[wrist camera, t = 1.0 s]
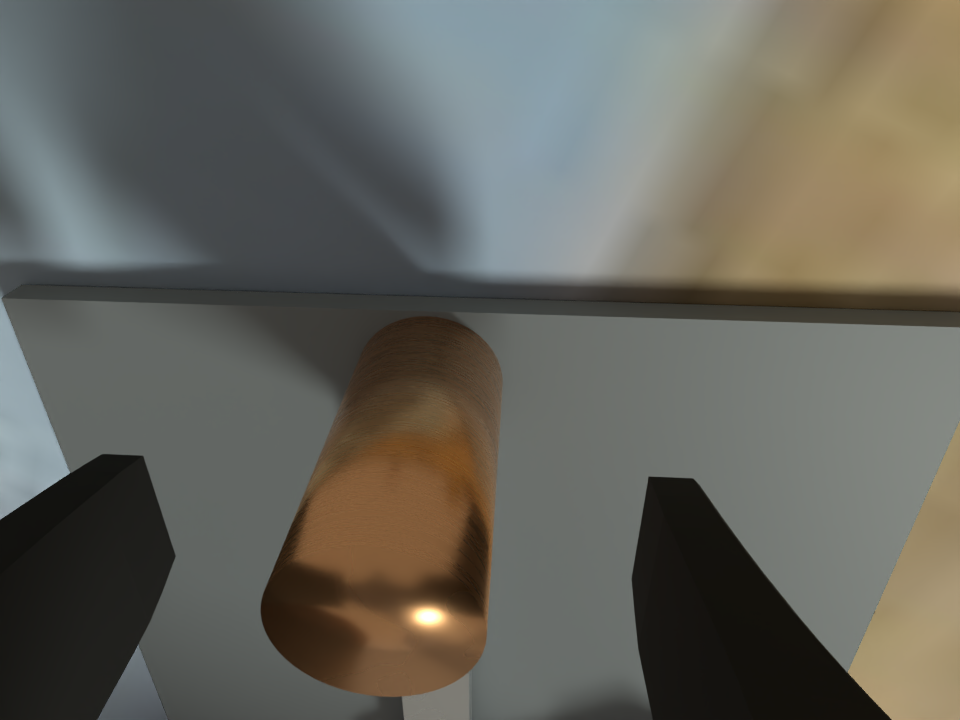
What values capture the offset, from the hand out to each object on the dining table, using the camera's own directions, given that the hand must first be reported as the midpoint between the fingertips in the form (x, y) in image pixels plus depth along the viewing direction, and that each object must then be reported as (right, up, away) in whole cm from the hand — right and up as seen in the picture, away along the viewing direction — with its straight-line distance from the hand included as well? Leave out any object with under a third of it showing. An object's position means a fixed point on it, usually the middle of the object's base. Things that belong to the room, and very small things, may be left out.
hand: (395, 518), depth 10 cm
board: (+1, -5, +8) cm, 9 cm away
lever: (0, -5, +8) cm, 9 cm away
